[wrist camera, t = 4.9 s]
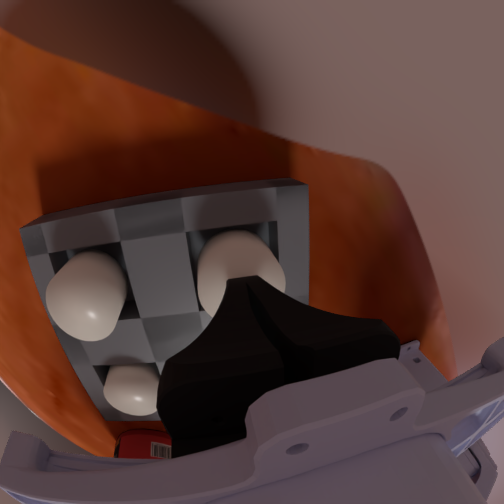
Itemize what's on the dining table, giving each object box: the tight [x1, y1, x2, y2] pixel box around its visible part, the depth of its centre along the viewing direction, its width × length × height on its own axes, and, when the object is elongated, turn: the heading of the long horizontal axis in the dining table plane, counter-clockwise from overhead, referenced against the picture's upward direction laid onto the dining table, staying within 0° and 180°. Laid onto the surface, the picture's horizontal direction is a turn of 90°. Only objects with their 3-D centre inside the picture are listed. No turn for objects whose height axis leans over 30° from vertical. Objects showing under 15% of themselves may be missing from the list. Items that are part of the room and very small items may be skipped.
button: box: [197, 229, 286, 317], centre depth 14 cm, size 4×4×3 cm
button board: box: [19, 178, 309, 421], centre depth 17 cm, size 16×16×3 cm
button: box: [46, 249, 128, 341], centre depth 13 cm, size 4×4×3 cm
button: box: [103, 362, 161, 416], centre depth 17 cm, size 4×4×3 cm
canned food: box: [114, 429, 171, 459], centre depth 19 cm, size 8×8×11 cm
